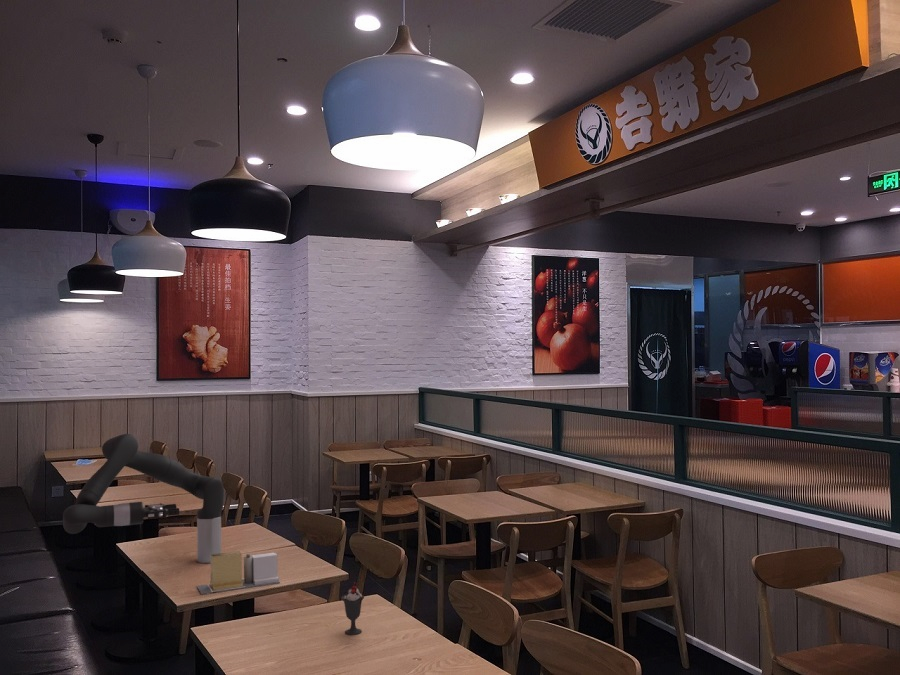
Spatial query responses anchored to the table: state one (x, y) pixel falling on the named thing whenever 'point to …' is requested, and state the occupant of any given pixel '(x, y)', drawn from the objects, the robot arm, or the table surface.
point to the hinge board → (254, 572)
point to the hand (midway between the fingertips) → (177, 509)
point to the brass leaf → (226, 570)
